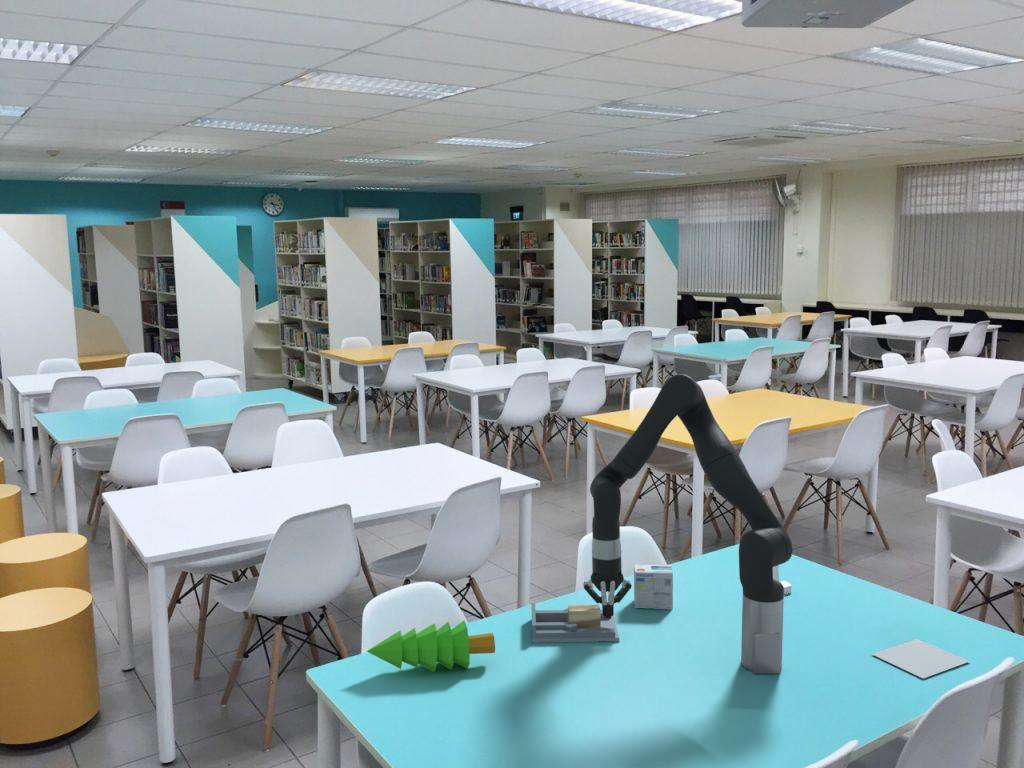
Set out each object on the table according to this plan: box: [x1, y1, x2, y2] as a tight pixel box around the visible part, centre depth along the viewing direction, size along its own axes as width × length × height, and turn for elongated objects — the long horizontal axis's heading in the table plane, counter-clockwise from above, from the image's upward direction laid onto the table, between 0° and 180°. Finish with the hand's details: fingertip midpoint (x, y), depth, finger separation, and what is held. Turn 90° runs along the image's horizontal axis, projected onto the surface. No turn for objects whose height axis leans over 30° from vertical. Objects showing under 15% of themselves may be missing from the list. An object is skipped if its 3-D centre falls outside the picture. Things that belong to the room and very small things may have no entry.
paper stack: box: [871, 638, 970, 679], centre depth 205 cm, size 23×25×1 cm
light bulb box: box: [633, 563, 674, 610], centre depth 232 cm, size 11×7×11 cm, turn 84°
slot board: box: [531, 602, 620, 643], centre depth 217 cm, size 14×22×4 cm, turn 89°
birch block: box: [567, 603, 601, 629], centre depth 217 cm, size 4×8×5 cm, turn 90°
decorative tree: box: [366, 620, 496, 673], centre depth 197 cm, size 11×12×30 cm
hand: (608, 617), depth 217 cm, fingers closed
